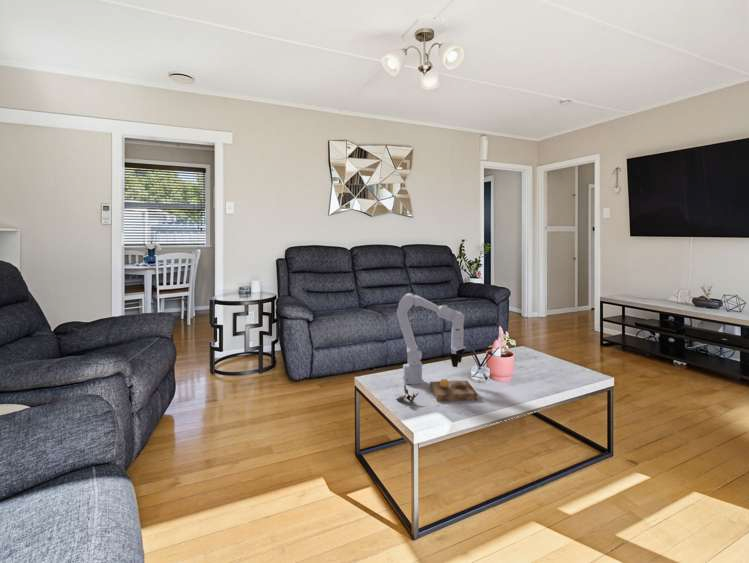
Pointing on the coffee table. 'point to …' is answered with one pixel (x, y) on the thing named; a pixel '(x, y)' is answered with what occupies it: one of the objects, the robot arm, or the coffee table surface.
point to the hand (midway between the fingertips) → (456, 364)
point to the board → (453, 391)
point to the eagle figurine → (407, 395)
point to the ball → (444, 383)
